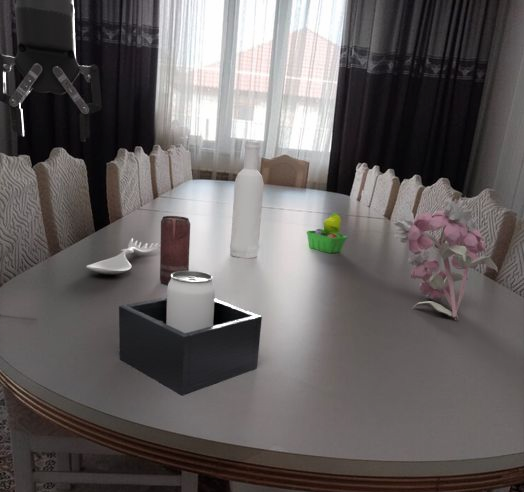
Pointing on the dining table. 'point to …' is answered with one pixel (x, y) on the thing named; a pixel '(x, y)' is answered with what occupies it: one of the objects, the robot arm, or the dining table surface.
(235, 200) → the bottle
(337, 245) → the green easter basket
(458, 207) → the flower
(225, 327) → the basin
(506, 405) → the dining table surface
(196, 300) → the can
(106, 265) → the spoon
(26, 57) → the robot arm
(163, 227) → the can
